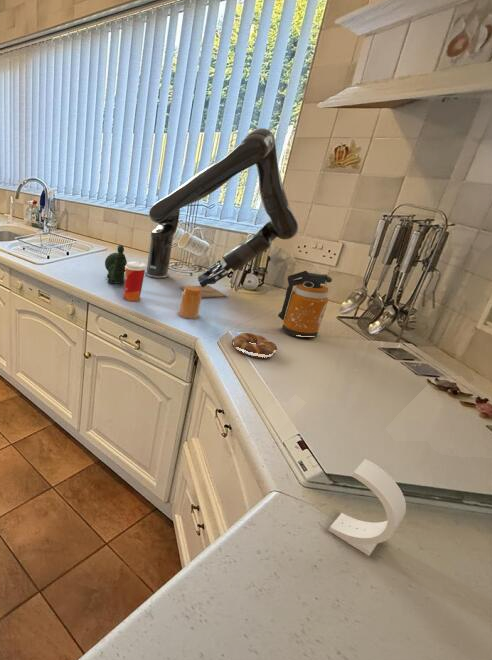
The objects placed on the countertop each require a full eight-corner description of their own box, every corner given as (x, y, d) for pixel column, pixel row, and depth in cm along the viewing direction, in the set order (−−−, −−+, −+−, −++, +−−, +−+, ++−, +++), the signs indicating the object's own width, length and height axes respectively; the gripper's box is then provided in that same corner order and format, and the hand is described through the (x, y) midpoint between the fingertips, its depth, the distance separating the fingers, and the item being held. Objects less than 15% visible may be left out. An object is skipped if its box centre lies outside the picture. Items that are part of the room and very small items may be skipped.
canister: (316, 343, 118) (336, 279, 110) (272, 333, 124) (288, 273, 116) (316, 332, 124) (335, 271, 117) (274, 323, 131) (290, 265, 123)
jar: (175, 312, 140) (180, 285, 137) (192, 311, 141) (196, 285, 137) (184, 319, 135) (189, 291, 131) (201, 318, 135) (206, 290, 131)
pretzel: (221, 341, 120) (223, 330, 118) (255, 339, 120) (258, 328, 119) (247, 361, 108) (250, 349, 107) (284, 359, 109) (288, 347, 108)
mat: (180, 288, 163) (181, 286, 163) (208, 286, 164) (208, 285, 164) (197, 298, 152) (197, 297, 152) (226, 297, 153) (226, 295, 153)
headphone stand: (340, 516, 64) (365, 458, 59) (389, 545, 59) (420, 485, 54) (328, 530, 61) (353, 471, 57) (378, 562, 57) (410, 501, 52)
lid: (210, 285, 152) (211, 280, 152) (194, 281, 157) (195, 276, 156) (218, 281, 156) (219, 277, 155) (203, 277, 161) (204, 273, 160)
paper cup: (127, 293, 158) (131, 260, 153) (145, 298, 153) (150, 263, 148) (117, 298, 153) (121, 264, 148) (135, 304, 148) (140, 268, 143)
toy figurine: (128, 293, 163) (123, 270, 185) (134, 250, 154) (128, 231, 176) (105, 292, 165) (102, 269, 187) (109, 249, 156) (106, 231, 178)
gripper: (250, 268, 143) (208, 295, 151) (242, 258, 156) (203, 283, 164) (237, 253, 143) (195, 281, 151) (229, 244, 155) (191, 270, 164)
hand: (199, 282), depth 157 cm, fingers closed on lid, 6 cm apart
